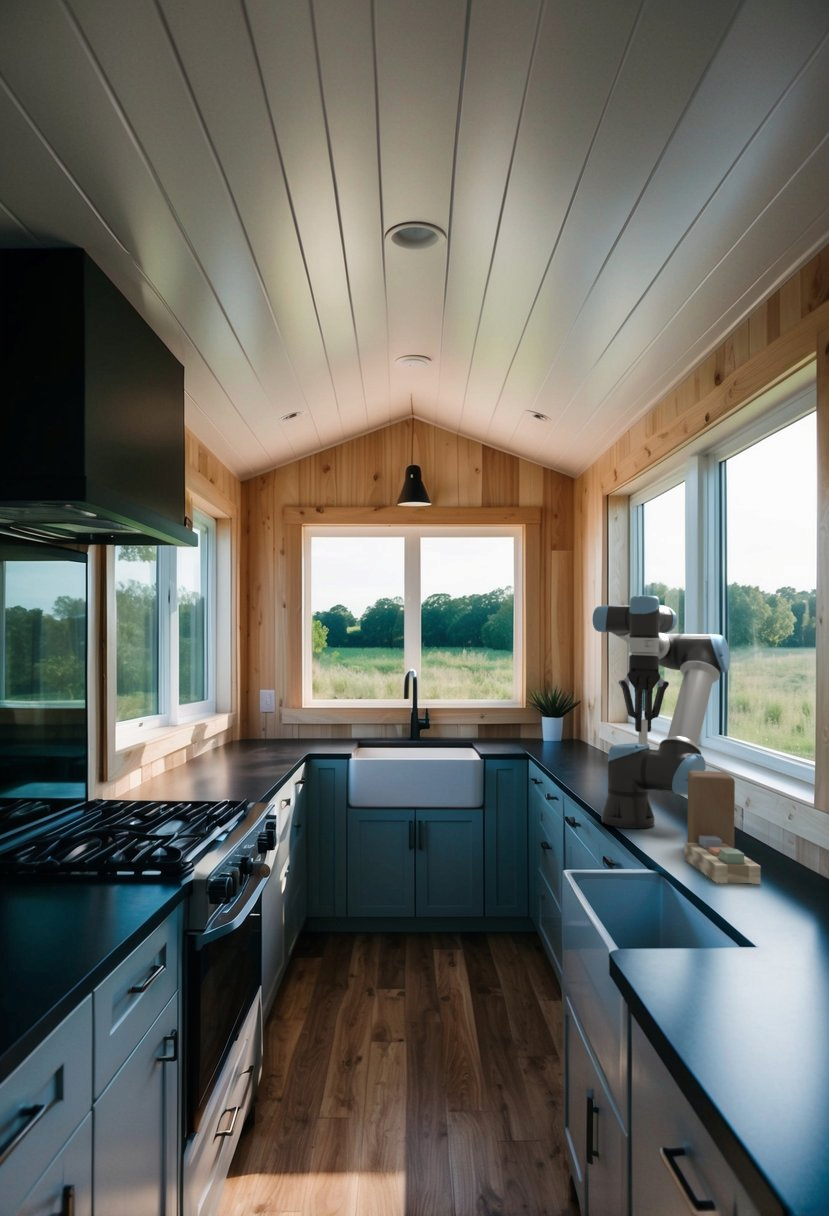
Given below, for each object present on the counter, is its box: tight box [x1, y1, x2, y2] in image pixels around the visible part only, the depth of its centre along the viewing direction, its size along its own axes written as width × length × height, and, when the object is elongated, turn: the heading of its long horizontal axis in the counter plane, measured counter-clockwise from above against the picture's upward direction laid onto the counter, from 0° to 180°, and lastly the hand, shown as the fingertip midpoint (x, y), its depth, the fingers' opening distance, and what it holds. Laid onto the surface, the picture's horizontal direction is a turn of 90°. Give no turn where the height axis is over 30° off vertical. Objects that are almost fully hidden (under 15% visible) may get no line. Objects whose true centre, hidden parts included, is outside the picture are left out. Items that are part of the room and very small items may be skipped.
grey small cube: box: [699, 836, 722, 849], centre depth 189 cm, size 4×4×4 cm
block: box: [686, 770, 736, 849], centre depth 199 cm, size 10×10×20 cm
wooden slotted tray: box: [684, 842, 762, 885], centre depth 183 cm, size 19×10×4 cm, turn 1°
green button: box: [719, 848, 745, 864], centre depth 177 cm, size 4×4×4 cm
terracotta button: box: [709, 847, 727, 856], centre depth 183 cm, size 4×4×4 cm
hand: (642, 744), depth 205 cm, fingers closed
